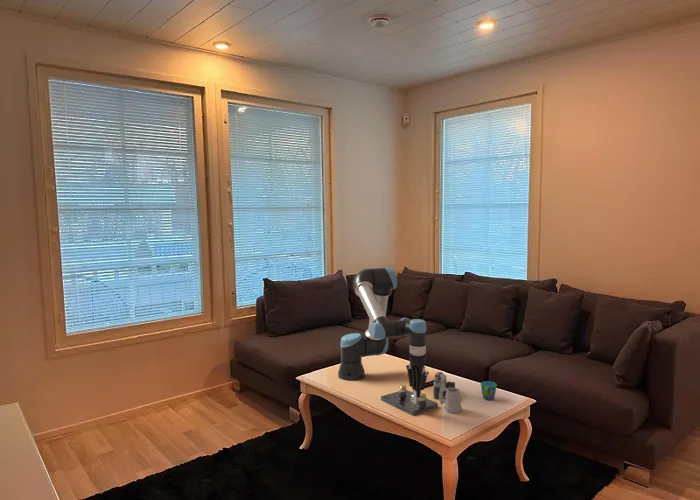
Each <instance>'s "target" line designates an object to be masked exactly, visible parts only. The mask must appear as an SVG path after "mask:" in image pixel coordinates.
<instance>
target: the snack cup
mask: <svg viewBox="0 0 700 500" xmlns="http://www.w3.org/2000/svg"><path fill="white" fill-rule="evenodd" d="M480 387H481V393H482V398H483V399H484V400H487V401H489V400H490V401H492V400H494V399H495V397H496V391H497V387H498V385H497V383H496V382H494V381H490V380H489V381H487V380H486V381H485V380H484V381H482V382H480Z"/></svg>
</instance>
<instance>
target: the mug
mask: <svg viewBox="0 0 700 500" xmlns="http://www.w3.org/2000/svg"><path fill="white" fill-rule="evenodd" d="M444 391H446V393H445V398H444V394H443V392H444ZM461 399H462V395H461V389H460V388H458V387H455V388H445V384H444V382H442V385H441V389H440V392H439V399H438V400H439V402H440V405H444V404H445V405H444V409H445V411H446V413H449V414H459V413H461V411H462V408H463V407H462V404H461V401H462V400H461Z"/></svg>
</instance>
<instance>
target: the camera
mask: <svg viewBox="0 0 700 500" xmlns="http://www.w3.org/2000/svg"><path fill="white" fill-rule="evenodd" d="M432 382H433V399H434V400H439V392H440V389H441V385H442V382H444V384H445V388H456V383H455V382H454V381H447V375H446V374H444V372H442V371H437V372H435V373H434V378H433V379H432ZM444 394H445V395H446V391H444V392H443V395H444Z"/></svg>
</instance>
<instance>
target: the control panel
mask: <svg viewBox="0 0 700 500" xmlns="http://www.w3.org/2000/svg"><path fill="white" fill-rule="evenodd" d="M399 392H400V390H398V391H395V392H392V393H389V394H385V395H381V396H380V401H382V402H384V403H386V404H388V405H390V406H392V407H394V408H396V409H399V410H400V411H402V412H404V413H406V414H408V415H409V416H416V415H419V414H421V413H424V412H428V411H431V410H433V409H436V408H438V407H439V404H438V402H436V401H433V400H432V399H429V398H427V397H426V404H424V409H419V403H418V404H414V403H413V397H414V396H413V391H410V390H408V389H406V395H404V400H400V399H399Z"/></svg>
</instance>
